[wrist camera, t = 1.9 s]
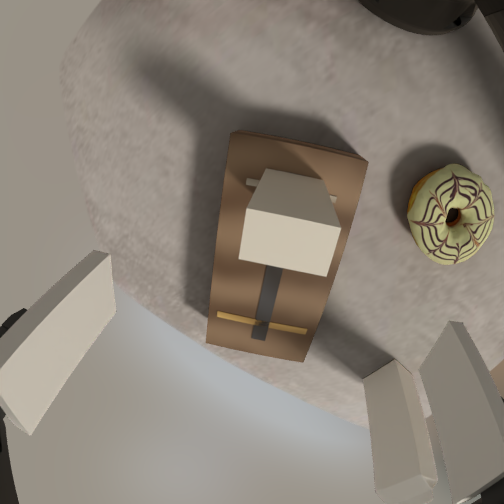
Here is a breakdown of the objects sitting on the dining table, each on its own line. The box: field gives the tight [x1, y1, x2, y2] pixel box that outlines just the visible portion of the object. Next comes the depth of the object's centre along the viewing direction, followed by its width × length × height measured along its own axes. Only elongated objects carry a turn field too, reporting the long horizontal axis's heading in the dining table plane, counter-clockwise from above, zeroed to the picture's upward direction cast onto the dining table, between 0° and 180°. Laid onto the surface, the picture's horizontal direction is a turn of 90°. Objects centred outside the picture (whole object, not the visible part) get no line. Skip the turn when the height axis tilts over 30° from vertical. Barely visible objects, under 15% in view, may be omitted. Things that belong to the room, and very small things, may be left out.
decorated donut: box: [407, 164, 494, 265], centre depth 27 cm, size 10×11×4 cm
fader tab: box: [239, 168, 341, 277], centre depth 21 cm, size 3×5×11 cm, turn 81°
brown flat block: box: [206, 130, 368, 362], centre depth 32 cm, size 24×12×4 cm, turn 171°
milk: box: [363, 359, 438, 504], centre depth 30 cm, size 6×6×22 cm
